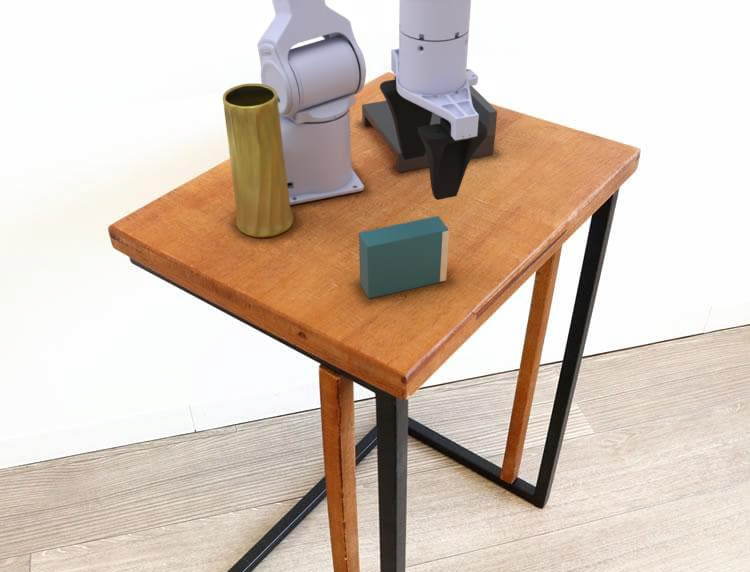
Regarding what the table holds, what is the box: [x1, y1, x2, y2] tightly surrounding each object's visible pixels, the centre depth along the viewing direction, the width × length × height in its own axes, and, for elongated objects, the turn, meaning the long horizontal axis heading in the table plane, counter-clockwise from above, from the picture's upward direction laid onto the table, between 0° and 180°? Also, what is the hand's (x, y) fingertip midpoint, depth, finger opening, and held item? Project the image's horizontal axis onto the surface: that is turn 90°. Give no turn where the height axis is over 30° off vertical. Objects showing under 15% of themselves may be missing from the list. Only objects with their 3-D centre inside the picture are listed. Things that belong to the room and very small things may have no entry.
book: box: [358, 215, 450, 299], centre depth 80 cm, size 3×8×6 cm, turn 110°
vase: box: [222, 82, 295, 238], centre depth 85 cm, size 6×6×14 cm
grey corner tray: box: [361, 86, 498, 174], centre depth 101 cm, size 12×13×6 cm
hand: (428, 175), depth 78 cm, fingers open, 7 cm apart
